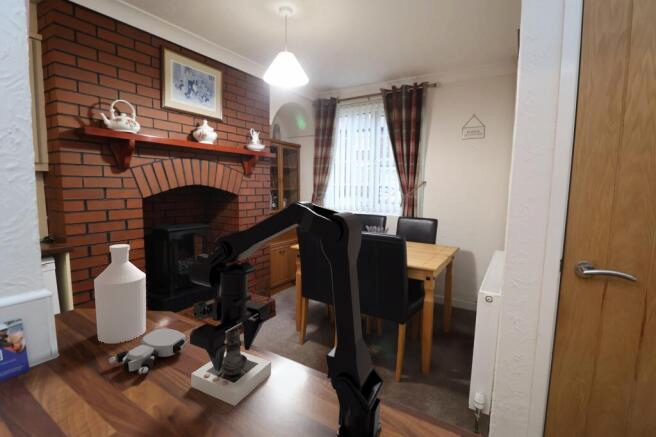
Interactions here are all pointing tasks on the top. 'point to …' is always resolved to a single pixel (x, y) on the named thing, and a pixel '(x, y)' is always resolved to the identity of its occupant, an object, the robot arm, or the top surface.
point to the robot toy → (151, 349)
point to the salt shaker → (233, 357)
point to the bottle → (120, 299)
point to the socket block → (227, 390)
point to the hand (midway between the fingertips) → (233, 359)
